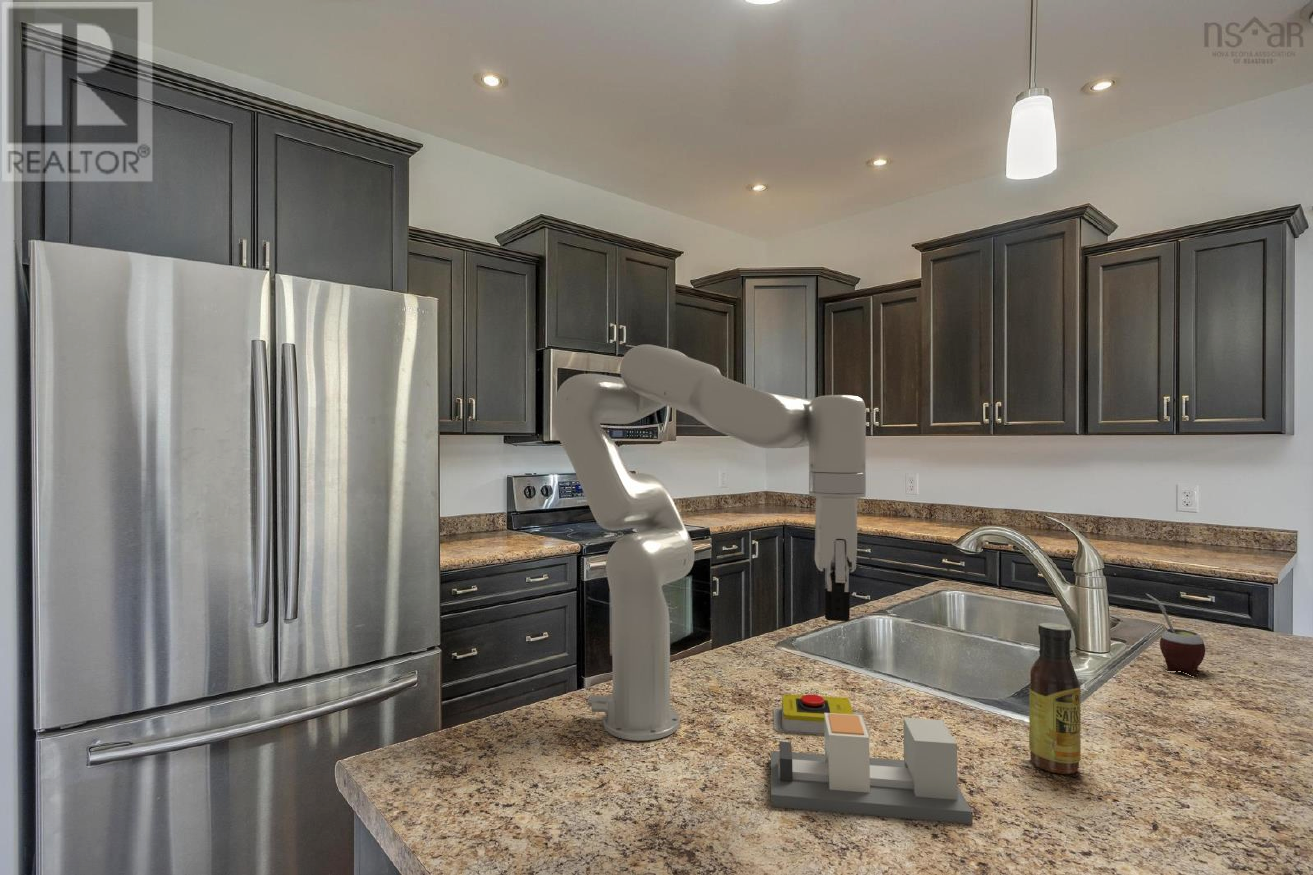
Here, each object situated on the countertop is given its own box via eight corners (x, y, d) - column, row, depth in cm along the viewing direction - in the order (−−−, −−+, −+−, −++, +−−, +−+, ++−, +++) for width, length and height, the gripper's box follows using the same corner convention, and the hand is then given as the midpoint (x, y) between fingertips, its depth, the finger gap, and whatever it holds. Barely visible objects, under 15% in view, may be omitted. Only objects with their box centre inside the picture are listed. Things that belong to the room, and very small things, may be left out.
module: (829, 789, 83) (828, 733, 83) (824, 763, 90) (824, 711, 90) (869, 792, 82) (869, 736, 82) (862, 765, 89) (861, 713, 89)
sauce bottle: (1063, 781, 87) (1061, 634, 88) (1019, 761, 93) (1017, 623, 93) (1091, 770, 90) (1089, 628, 91) (1047, 751, 96) (1045, 618, 96)
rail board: (771, 806, 82) (770, 739, 82) (770, 761, 94) (770, 702, 94) (972, 824, 78) (971, 753, 78) (945, 774, 90) (944, 713, 90)
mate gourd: (1215, 678, 125) (1213, 601, 125) (1174, 678, 125) (1173, 601, 125) (1184, 665, 133) (1182, 592, 133) (1145, 665, 133) (1144, 592, 133)
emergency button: (773, 686, 113) (861, 690, 110) (773, 711, 113) (862, 716, 110) (773, 707, 103) (870, 713, 101) (773, 734, 103) (870, 741, 101)
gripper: (806, 481, 96) (806, 604, 96) (811, 488, 82) (811, 633, 81) (858, 482, 95) (858, 607, 95) (873, 489, 80) (873, 637, 80)
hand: (836, 618), depth 88 cm, fingers closed
